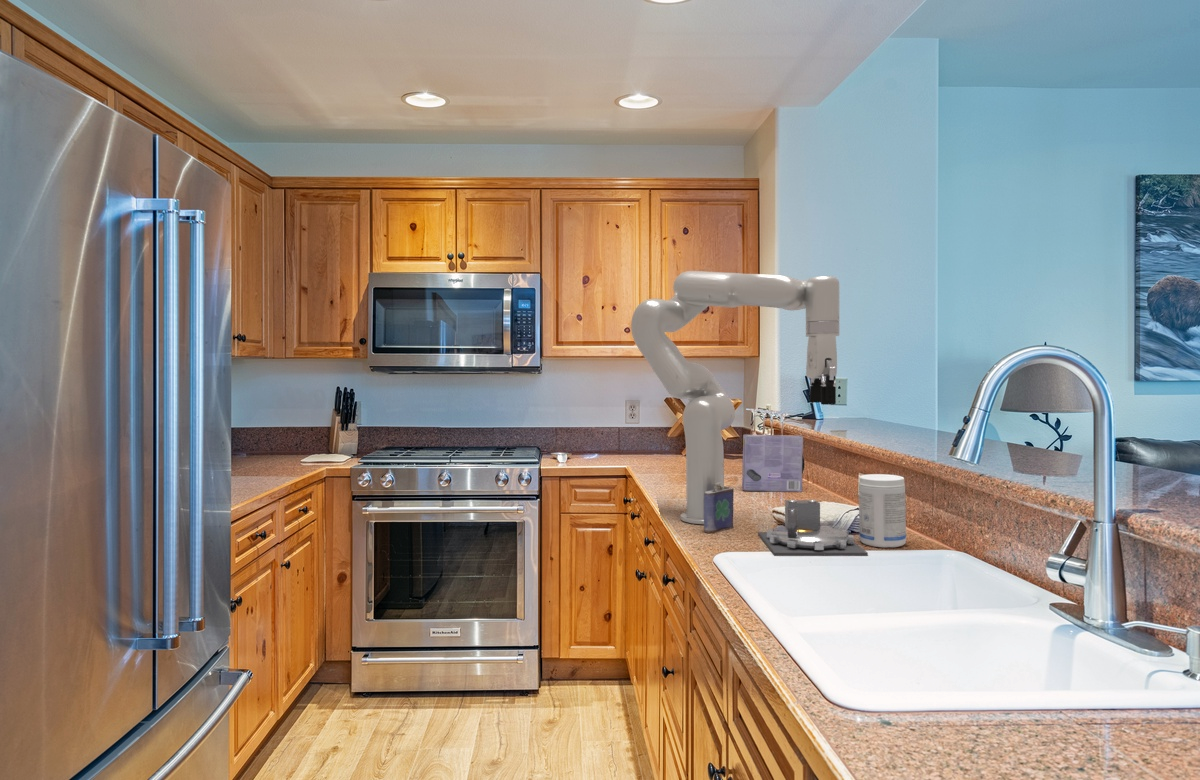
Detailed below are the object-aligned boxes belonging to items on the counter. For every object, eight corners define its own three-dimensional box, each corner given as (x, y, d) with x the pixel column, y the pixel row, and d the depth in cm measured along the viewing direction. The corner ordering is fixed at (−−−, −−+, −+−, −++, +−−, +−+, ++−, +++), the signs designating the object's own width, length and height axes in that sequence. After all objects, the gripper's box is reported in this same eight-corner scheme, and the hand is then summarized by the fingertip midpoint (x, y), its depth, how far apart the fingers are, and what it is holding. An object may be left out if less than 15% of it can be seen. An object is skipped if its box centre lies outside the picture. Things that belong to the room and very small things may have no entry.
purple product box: (803, 489, 232) (803, 433, 231) (806, 492, 227) (806, 435, 226) (741, 489, 234) (741, 433, 233) (743, 491, 229) (743, 435, 228)
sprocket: (760, 545, 156) (760, 510, 155) (773, 528, 172) (773, 496, 172) (851, 552, 149) (851, 516, 149) (855, 533, 165) (855, 501, 165)
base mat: (758, 534, 170) (758, 531, 170) (840, 534, 170) (840, 531, 170) (774, 555, 151) (774, 551, 151) (867, 555, 151) (867, 551, 151)
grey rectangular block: (785, 526, 167) (785, 499, 167) (816, 526, 167) (816, 499, 167) (788, 530, 164) (788, 501, 163) (820, 529, 163) (820, 501, 163)
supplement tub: (906, 540, 163) (906, 474, 163) (905, 550, 155) (905, 481, 154) (860, 536, 167) (860, 472, 167) (857, 546, 158) (857, 478, 158)
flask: (710, 534, 172) (710, 485, 171) (699, 531, 174) (699, 483, 174) (736, 527, 178) (736, 480, 178) (725, 525, 181) (725, 479, 180)
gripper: (797, 332, 180) (797, 401, 180) (815, 328, 162) (815, 405, 163) (828, 331, 179) (828, 401, 180) (849, 327, 162) (850, 405, 163)
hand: (822, 403), depth 171 cm, fingers open, 9 cm apart
